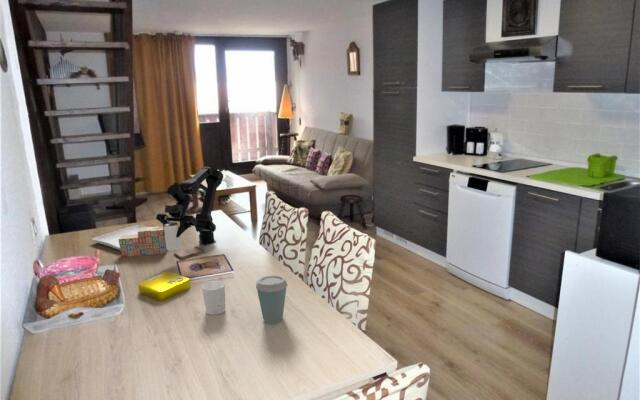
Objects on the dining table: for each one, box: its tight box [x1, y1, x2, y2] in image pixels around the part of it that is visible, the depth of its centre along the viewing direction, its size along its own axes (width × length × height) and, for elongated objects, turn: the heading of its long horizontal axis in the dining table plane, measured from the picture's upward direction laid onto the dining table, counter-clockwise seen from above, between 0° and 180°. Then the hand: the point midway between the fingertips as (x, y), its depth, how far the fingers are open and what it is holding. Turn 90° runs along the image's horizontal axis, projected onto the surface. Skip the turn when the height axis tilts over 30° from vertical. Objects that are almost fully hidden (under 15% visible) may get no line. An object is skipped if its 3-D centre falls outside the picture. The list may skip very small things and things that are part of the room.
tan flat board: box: [173, 245, 206, 260], centre depth 220 cm, size 12×8×1 cm, turn 132°
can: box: [164, 221, 182, 252], centre depth 206 cm, size 6×6×12 cm
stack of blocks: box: [119, 225, 169, 258], centre depth 222 cm, size 21×6×12 cm, turn 98°
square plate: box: [91, 224, 148, 251], centre depth 242 cm, size 27×27×4 cm
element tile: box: [138, 271, 191, 302], centre depth 181 cm, size 15×15×5 cm
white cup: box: [201, 280, 226, 316], centre depth 163 cm, size 8×8×10 cm
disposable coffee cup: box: [255, 274, 288, 325], centre depth 155 cm, size 11×11×15 cm
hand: (170, 236), depth 204 cm, fingers closed on can, 6 cm apart
